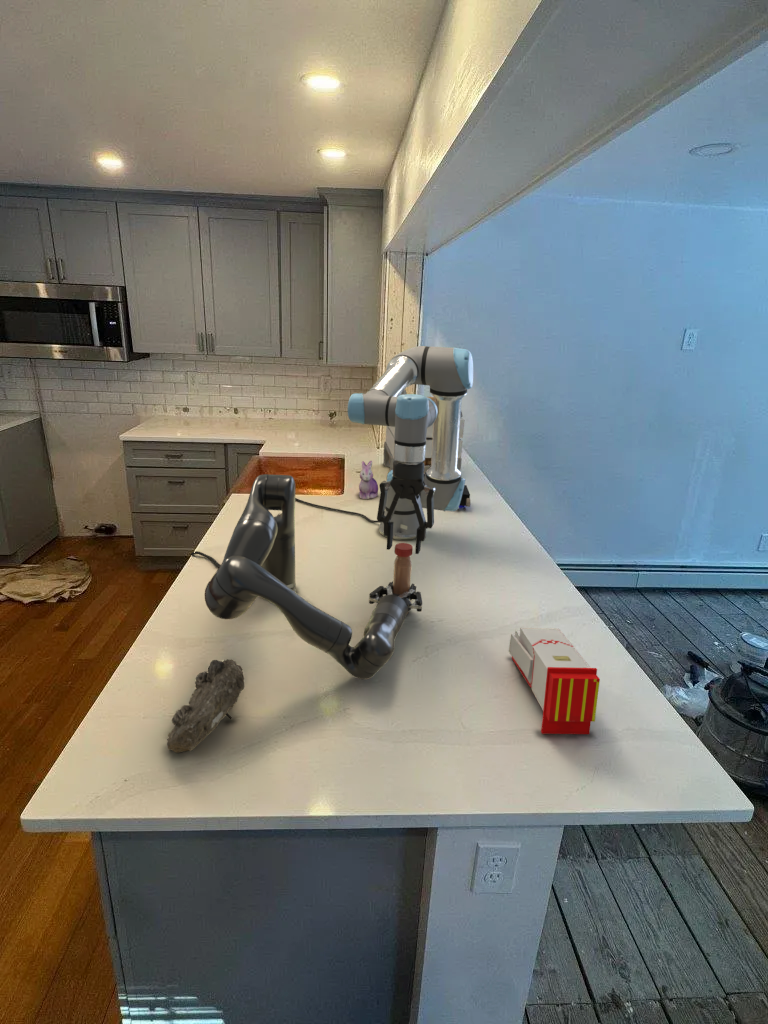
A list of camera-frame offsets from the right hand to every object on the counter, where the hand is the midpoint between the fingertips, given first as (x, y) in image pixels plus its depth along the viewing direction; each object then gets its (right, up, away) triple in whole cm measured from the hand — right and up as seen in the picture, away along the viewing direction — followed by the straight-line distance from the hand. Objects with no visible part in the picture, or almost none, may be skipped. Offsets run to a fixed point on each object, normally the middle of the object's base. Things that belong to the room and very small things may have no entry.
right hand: (403, 549), depth 143 cm
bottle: (-1, -17, +6) cm, 18 cm away
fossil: (-38, -30, -35) cm, 59 cm away
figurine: (-12, +16, +95) cm, 98 cm away
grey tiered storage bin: (+12, +28, +132) cm, 136 cm away
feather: (-44, +7, +67) cm, 81 cm away
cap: (0, +1, 0) cm, 1 cm away
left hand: (0, -10, +6) cm, 12 cm away
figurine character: (+26, +12, +88) cm, 92 cm away
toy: (+29, -28, -22) cm, 46 cm away
